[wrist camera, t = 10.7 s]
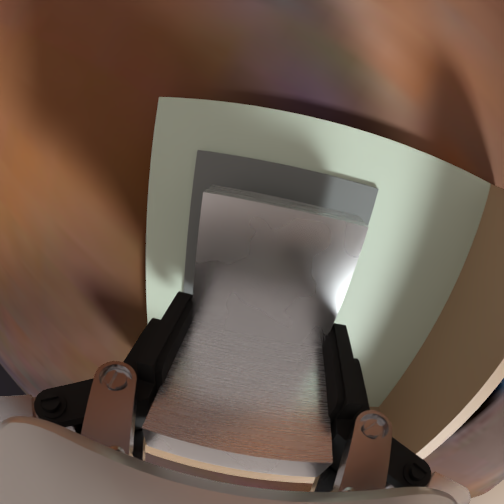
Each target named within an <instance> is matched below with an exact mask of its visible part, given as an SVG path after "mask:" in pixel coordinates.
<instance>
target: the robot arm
mask: <svg viewBox="0 0 504 504" xmlns="http://www.w3.org/2000/svg"><path fill="white" fill-rule="evenodd" d="M192 297H193V295H192V294H188V293H184V292H180V291H179V292H178V293H177V294H176V296H175V298H174V299H173V301H172V302H171V304H170V306H169V307H168V309H167V310H166V312H165V314H164V315H163V317H162V318H161V320H160V319H156V318H152V319H151V320H150V321H149V323H148V324H147V326H146V328H145V329H144V331H143V332H142V334H141V335H140V337H139V338H138V340H137V341H136V343H135V345H134V346H133V348H132V349H131V351H130V353H129V354H128V356H127V357H126V359H125V360H124V362H120V361H111V362H106V363H104V364H103V365H101V366H100V367H99V368H98V369H97V371H96V373H95V375H94V379H90V380H85V381H81V382H77V383H73V384H68V385H64V386H59V387H54V388H50V389H46V390H43V391H42V392H41V393H39V394H38V395H37V397H32V395H20V396H0V504H469V503H470V498H471V497H470V492H469V491H468V489H467V488H466V487H464V486H462V485H460V484H458V483H456V482H454V481H452V480H450V479H448V478H446V477H444V476H443V475H441V474H439V473H437V472H434V473H431V470H430V467H429V465H428V464H427V463H426V462H425V461H424V460H423V459H422V458H420V457H419V456H417V455H416V454H415V453H413V452H412V451H411V450H409V449H408V448H407V447H405V446H404V445H402V444H401V443H400V442H398V441H397V440H396V439H394V438H393V437H392V431H393V430H392V424H391V422H390V420H389V419H388V418H387V416H385V415H384V414H383V413H381V412H378V411H375V410H370V407H369V402H368V398H367V393H366V388H365V383H364V379H363V374H362V370H361V366H360V362H359V360H358V359H357V358H354V357H353V352H352V348H351V344H350V339H349V335H348V331H347V327H346V325H342V324H336V323H334V324H333V326H332V329H331V331H330V332H329V333H328V335H327V337H326V340H325V342H324V344H323V346H322V352H323V361H324V371H325V381H326V392H327V404H328V417H330V424H331V439H332V457H333V463H332V464H331V465H330V466H329V467H328V468H327V469H326V470H325V471H323V472H322V473H321V474H320V475H319V476H318V477H315V480H314V483H313V485H312V488H311V491H310V492H297V491H282V490H271V489H262V488H254V487H247V486H240V485H234V484H228V483H223V482H218V481H213V480H209V479H204V478H200V477H196V476H192V475H188V474H184V473H180V472H177V471H173V470H170V469H167V468H163V467H160V466H157V465H154V464H151V463H148V462H145V444H146V441H145V437H144V434H143V430H142V426H143V424H144V422H145V419H146V417H147V415H148V413H149V410H150V408H151V406H152V404H153V402H154V399H155V397H156V395H157V393H158V390H159V388H160V386H161V385H163V383H164V381H165V379H166V377H167V375H168V372H169V370H170V368H171V366H172V364H173V361H174V359H175V357H176V355H177V353H178V351H179V348H180V346H181V344H182V342H183V340H184V338H185V335H186V333H187V331H188V329H189V327H190V325H191V323H192V315H193V304H192Z"/></svg>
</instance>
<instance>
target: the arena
mask: <svg viewBox="0 0 504 504" xmlns="http://www.w3.org/2000/svg"><path fill="white" fill-rule="evenodd" d="M212 185H218V186H224V187H230V188H235V189H240V190H246V191H251V192H256V193H261V194H266V195H271V196H276V197H281V198H285V199H290V200H295V201H299V202H304V203H308V204H313V205H317V206H321V207H326V208H330V209H334V210H338V211H342V212H346V213H350V214H354V215H358V216H360V217H361V218H362V220H363V221H364V222H365V223H366V225H367V226H368V227H369V228H368V231H367V234H366V237H365V240H364V243H363V246H362V249H361V252H360V255H359V258H358V261H357V264H356V267H355V270H354V272H353V275H352V278H351V281H350V283H349V286H348V289H347V291H346V294H345V297H344V299H343V302H342V304H341V307H340V309H339V312H338V314H337V317H336V319H335V321H334V323H336V324H342V325H346V327H347V331H348V335H349V339H350V344H351V348H352V352H353V357H354V358H357V359H358V360H359V362H360V366H361V370H362V374H363V379H364V383H365V388H366V393H367V398H368V402H369V407H370V410H375V411H378V412H381V413H383V414H384V415H385V416H387V418H388V419H389V420H390V422H391V424H392V430H393V431H392V437H393V438H394V439H396V440H397V441H398V442H400V443H401V444H402V445H404V446H405V447H407V448H408V449H409V450H411V451H412V452H413V453H415V454H416V455H417V456H419V457H420V458H422V459H424V458H425V457H427V456H428V455H429V454H430V453H431V452H433V451H434V450H435V449H436V448H437V447H438V446H440V445H441V444H442V443H443V442H444V441H445V440H446V439H447V438H449V437H450V436H451V435H452V434H453V433H454V432H455V431H456V430H457V429H458V428H459V427H460V426H461V425H462V424H463V423H464V422H465V421H466V420H467V419H468V418H469V417H470V416H471V415H472V414H473V413H474V412H475V411H476V410H477V409H478V408H479V406H480V405H481V404H482V403H483V402H484V401H485V400H486V399H487V397H488V396H489V395H490V394H491V393H492V392H493V390H494V389H495V388H496V387H497V385H498V384H499V383H500V382H501V380H502V379H503V378H504V189H502V188H500V187H497V186H495V185H492V184H490V183H488V182H486V181H484V180H483V179H481V178H479V177H477V176H475V175H473V174H471V173H469V172H467V171H465V170H463V169H461V168H459V167H456V166H454V165H452V164H450V163H448V162H445V161H443V160H441V159H439V158H436V157H434V156H432V155H429V154H427V153H424V152H422V151H419V150H417V149H414V148H412V147H409V146H406V145H404V144H401V143H398V142H395V141H393V140H390V139H387V138H384V137H381V136H378V135H375V134H372V133H369V132H365V131H362V130H359V129H356V128H352V127H349V126H345V125H342V124H338V123H334V122H330V121H326V120H322V119H318V118H314V117H310V116H305V115H301V114H296V113H292V112H287V111H281V110H276V109H271V108H265V107H259V106H253V105H246V104H239V103H231V102H223V101H214V100H204V99H192V98H176V97H159V101H158V107H157V114H156V121H155V128H154V136H153V144H152V154H151V164H150V175H149V187H148V203H147V225H146V301H147V322H148V323H149V321H150V320H151V319H152V318H156V319H160V320H161V318H162V317H163V315H164V314H165V312H166V310H167V309H168V307H169V306H170V304H171V302H172V301H173V299H174V298H175V296H176V294H177V293H178V292H179V291H180V292H184V293H188V294H192V295H193V284H194V272H195V261H196V251H197V241H198V232H199V222H200V214H201V205H202V197H203V192H204V191H205V190H206V189H208V188H209V187H211V186H212ZM145 452H147V453H149V454H152V455H155V456H158V457H162V458H165V459H168V460H171V461H175V462H178V463H182V464H185V465H189V466H193V467H197V468H201V469H205V470H210V471H214V472H219V473H224V474H230V475H235V476H241V477H248V478H255V479H263V480H272V481H282V482H297V483H314V480H315V477H301V476H286V475H276V474H267V473H259V472H252V471H245V470H239V469H233V468H228V467H223V466H218V465H213V464H209V463H205V462H200V461H196V460H192V459H189V458H185V457H181V456H178V455H174V454H171V453H168V452H165V451H161V450H158V449H155V448H152V447H149V446H147V444H145Z"/></svg>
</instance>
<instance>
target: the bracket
mask: <svg viewBox="0 0 504 504" xmlns="http://www.w3.org/2000/svg"><path fill="white" fill-rule="evenodd" d="M368 228H369V227H368V226H367V225H366V223H365V222H364V221H363V220H362V218H361V217H360V216H358V215H354V214H350V213H346V212H342V211H338V210H334V209H330V208H326V207H321V206H317V205H313V204H308V203H304V202H299V201H295V200H290V199H285V198H281V197H276V196H271V195H266V194H261V193H256V192H251V191H246V190H240V189H235V188H230V187H224V186H218V185H212V186H211V187H209V188H208V189H206V190H205V191H204V192H203V197H202V205H201V214H200V222H199V232H198V241H197V251H196V261H195V272H194V284H193V297H192V304H193V315H192V323H191V325H190V327H189V329H188V331H187V333H186V335H185V338H184V340H183V342H182V344H181V346H180V348H179V351H178V353H177V355H176V357H175V359H174V361H173V364H172V366H171V368H170V370H169V372H168V375H167V377H166V379H165V381H164V383H163V385H161V386H160V388H159V390H158V393H157V395H156V397H155V399H154V402H153V404H152V406H151V408H150V410H149V413H148V415H147V417H146V419H145V422H144V424H143V426H142V430H143V434H144V437H145V441H146V444H147V446H149V447H152V448H155V449H158V450H161V451H165V452H168V453H171V454H174V455H178V456H181V457H185V458H189V459H192V460H196V461H200V462H205V463H209V464H213V465H218V466H223V467H228V468H233V469H239V470H245V471H252V472H259V473H267V474H276V475H286V476H301V477H318V476H319V475H320V474H321V473H322V472H323V471H325V470H326V469H327V468H328V467H329V466H330V465H331V464H332V463H333V457H332V439H331V424H330V417H328V404H327V392H326V381H325V371H324V361H323V352H322V346H323V344H324V342H325V340H326V337H327V335H328V333H329V332H330V331H331V329H332V326H333V324H334V321H335V319H336V317H337V314H338V312H339V309H340V307H341V304H342V302H343V299H344V297H345V294H346V291H347V289H348V286H349V283H350V281H351V278H352V275H353V272H354V270H355V267H356V264H357V261H358V258H359V255H360V252H361V249H362V246H363V243H364V240H365V237H366V234H367V231H368Z"/></svg>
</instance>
